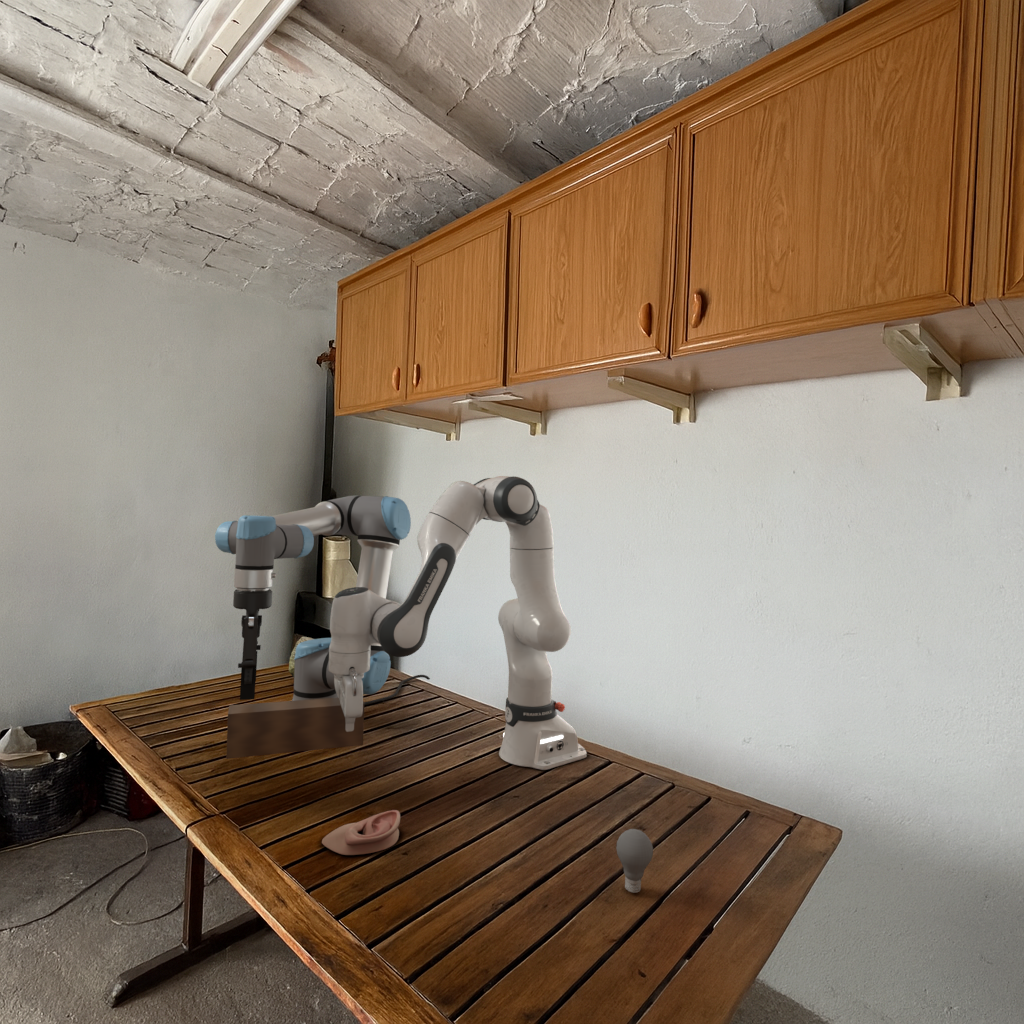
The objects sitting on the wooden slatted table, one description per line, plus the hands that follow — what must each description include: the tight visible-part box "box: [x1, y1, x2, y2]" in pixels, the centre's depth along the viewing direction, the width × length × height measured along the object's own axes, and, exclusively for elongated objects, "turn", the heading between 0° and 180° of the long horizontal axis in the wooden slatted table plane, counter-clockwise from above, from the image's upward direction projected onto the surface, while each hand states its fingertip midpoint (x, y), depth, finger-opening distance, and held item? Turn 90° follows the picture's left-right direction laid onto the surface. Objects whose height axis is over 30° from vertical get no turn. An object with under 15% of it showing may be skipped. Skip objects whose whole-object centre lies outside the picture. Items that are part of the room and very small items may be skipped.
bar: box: [226, 698, 365, 760], centre depth 135 cm, size 27×6×9 cm, turn 111°
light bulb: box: [615, 828, 654, 894], centre depth 106 cm, size 6×6×10 cm
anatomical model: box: [321, 809, 401, 856], centre depth 118 cm, size 13×4×12 cm
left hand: (248, 689), depth 133 cm, fingers open, 13 cm apart
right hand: (347, 724), depth 139 cm, fingers closed on bar, 5 cm apart
